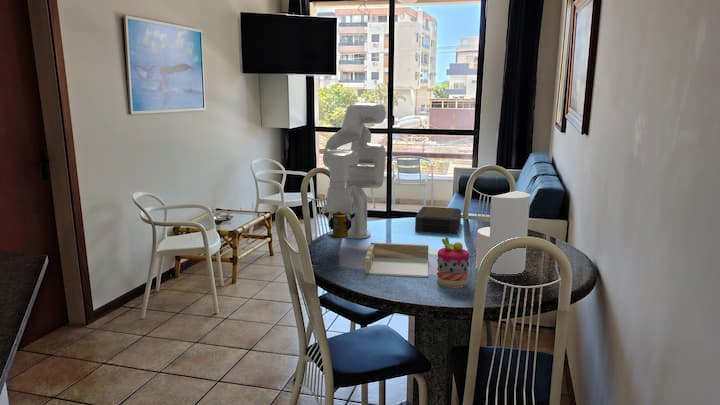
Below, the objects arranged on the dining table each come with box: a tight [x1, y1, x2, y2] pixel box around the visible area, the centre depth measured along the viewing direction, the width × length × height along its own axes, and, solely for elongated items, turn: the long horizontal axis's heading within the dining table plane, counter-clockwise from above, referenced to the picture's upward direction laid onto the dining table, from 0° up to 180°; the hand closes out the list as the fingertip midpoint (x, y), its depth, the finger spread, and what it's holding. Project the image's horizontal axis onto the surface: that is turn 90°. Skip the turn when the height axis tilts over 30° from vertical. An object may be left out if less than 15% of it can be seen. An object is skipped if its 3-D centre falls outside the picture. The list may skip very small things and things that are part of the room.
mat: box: [368, 257, 429, 278], centre depth 189 cm, size 20×22×1 cm
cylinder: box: [475, 190, 531, 274], centre depth 184 cm, size 17×17×28 cm
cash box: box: [414, 206, 462, 236], centre depth 249 cm, size 25×20×8 cm
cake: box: [436, 237, 470, 288], centre depth 171 cm, size 10×11×15 cm
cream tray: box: [364, 242, 429, 275], centre depth 188 cm, size 20×22×6 cm
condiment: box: [324, 210, 352, 241], centre depth 203 cm, size 7×8×12 cm
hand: (340, 228), depth 204 cm, fingers closed on condiment, 6 cm apart
